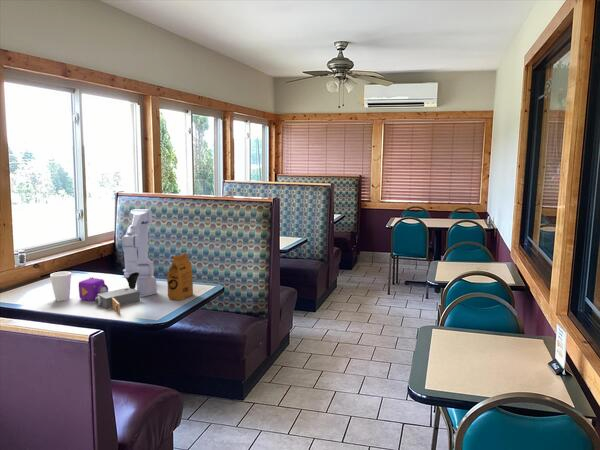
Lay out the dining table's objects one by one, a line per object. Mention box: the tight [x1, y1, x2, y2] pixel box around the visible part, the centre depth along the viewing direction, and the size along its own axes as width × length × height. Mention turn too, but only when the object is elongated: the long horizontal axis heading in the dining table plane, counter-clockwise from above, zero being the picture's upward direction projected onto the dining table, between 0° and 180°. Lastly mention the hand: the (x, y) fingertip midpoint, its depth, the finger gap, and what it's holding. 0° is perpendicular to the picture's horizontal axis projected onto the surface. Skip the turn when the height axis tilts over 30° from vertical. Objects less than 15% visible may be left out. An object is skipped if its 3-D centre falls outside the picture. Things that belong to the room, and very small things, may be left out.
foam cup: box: [49, 271, 72, 302], centre depth 255 cm, size 10×9×13 cm
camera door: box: [112, 298, 121, 314], centre depth 237 cm, size 11×1×4 cm, turn 34°
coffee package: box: [166, 252, 194, 301], centre depth 257 cm, size 10×12×22 cm
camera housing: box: [94, 286, 141, 310], centre depth 249 cm, size 19×10×6 cm, turn 134°
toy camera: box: [78, 276, 109, 302], centre depth 256 cm, size 11×14×10 cm
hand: (132, 288), depth 241 cm, fingers closed
